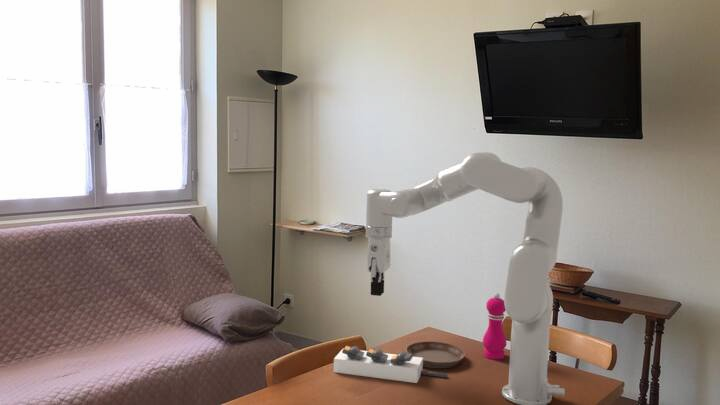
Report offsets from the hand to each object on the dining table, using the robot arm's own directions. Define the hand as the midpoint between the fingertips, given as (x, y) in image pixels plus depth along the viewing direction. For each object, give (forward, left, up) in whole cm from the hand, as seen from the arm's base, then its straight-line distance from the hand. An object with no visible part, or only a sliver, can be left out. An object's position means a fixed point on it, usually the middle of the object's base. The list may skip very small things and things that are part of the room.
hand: (377, 293), depth 179 cm
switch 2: (-10, +8, -17) cm, 21 cm away
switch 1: (+5, +8, -17) cm, 19 cm away
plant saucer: (-16, -9, -22) cm, 29 cm away
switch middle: (-2, +8, -17) cm, 19 cm away
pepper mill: (-33, -18, -21) cm, 44 cm away
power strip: (-6, +6, -21) cm, 23 cm away
